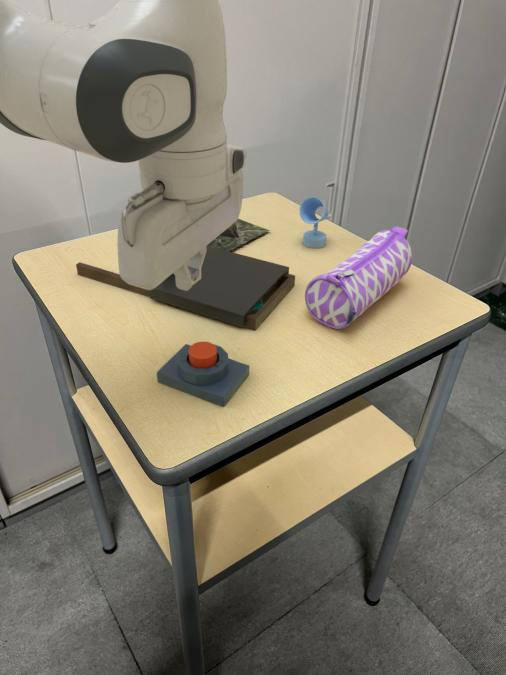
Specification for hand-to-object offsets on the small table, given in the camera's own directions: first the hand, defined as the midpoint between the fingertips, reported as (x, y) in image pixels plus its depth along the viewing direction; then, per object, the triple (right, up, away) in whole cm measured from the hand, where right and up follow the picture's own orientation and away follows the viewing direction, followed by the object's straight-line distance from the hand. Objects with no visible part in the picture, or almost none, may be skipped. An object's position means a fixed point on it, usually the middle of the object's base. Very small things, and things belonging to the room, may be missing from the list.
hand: (188, 284), depth 61 cm
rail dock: (-4, +4, +28) cm, 29 cm away
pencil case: (+25, 0, +24) cm, 34 cm away
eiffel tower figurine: (+2, +13, +42) cm, 44 cm away
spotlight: (+19, +12, +41) cm, 47 cm away
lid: (+2, +2, +26) cm, 26 cm away
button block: (+1, -12, +8) cm, 14 cm away
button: (+1, -9, +6) cm, 11 cm away
